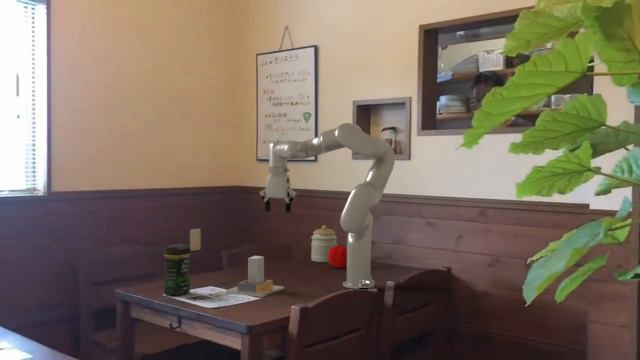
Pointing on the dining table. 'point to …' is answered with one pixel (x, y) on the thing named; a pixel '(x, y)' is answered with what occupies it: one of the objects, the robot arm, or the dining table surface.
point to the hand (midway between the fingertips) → (277, 211)
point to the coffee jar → (177, 269)
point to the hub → (255, 288)
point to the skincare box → (256, 270)
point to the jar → (322, 244)
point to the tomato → (338, 256)
